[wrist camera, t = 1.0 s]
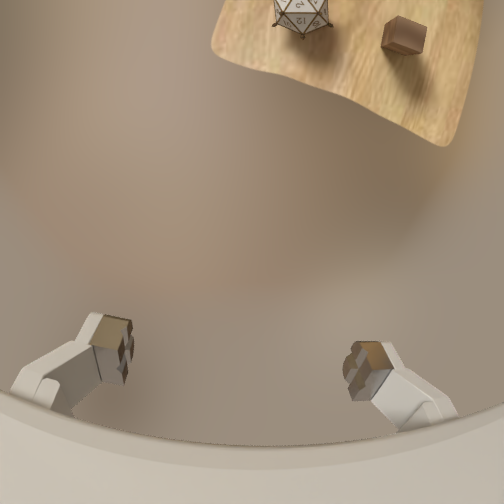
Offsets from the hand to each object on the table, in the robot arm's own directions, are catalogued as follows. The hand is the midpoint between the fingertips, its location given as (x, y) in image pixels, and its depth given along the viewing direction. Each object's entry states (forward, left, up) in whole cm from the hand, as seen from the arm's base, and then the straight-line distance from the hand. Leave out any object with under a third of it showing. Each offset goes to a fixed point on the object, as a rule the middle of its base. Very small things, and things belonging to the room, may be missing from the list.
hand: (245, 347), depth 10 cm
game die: (-18, -3, -41) cm, 45 cm away
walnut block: (-18, +11, -41) cm, 46 cm away
